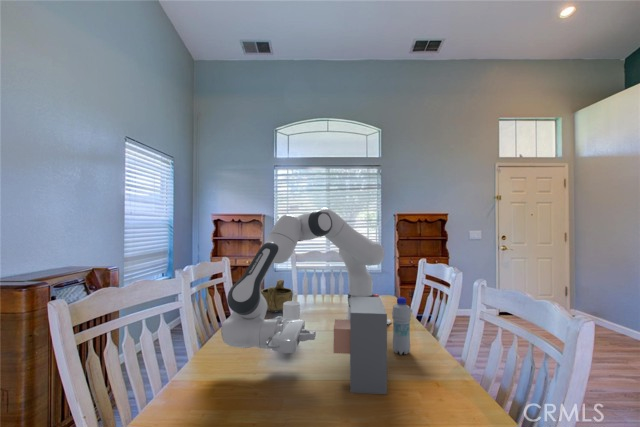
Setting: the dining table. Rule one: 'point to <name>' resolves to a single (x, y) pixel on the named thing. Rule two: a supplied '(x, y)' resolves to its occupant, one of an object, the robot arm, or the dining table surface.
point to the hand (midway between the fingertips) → (315, 335)
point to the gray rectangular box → (368, 345)
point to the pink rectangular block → (342, 336)
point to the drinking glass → (291, 309)
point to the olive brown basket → (277, 296)
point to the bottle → (401, 326)
